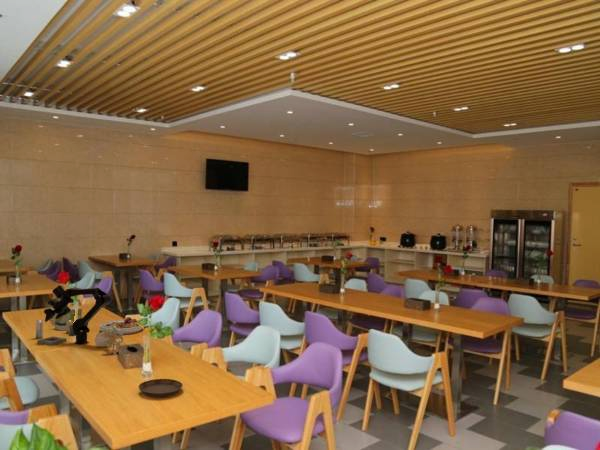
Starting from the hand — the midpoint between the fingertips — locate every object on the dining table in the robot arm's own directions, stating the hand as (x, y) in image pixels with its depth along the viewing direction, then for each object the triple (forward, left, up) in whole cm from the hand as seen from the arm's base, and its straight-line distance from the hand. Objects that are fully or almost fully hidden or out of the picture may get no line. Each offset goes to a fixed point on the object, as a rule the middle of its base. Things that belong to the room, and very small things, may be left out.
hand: (50, 320), depth 336 cm
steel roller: (+8, +2, -13) cm, 15 cm away
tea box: (+16, -29, -13) cm, 35 cm away
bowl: (-21, -43, -13) cm, 50 cm away
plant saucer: (-125, +45, -13) cm, 134 cm away
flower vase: (-50, +1, -13) cm, 52 cm away
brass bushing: (+4, -19, -13) cm, 23 cm away
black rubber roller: (-3, -16, -13) cm, 21 cm away
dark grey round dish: (-7, +5, -13) cm, 16 cm away
